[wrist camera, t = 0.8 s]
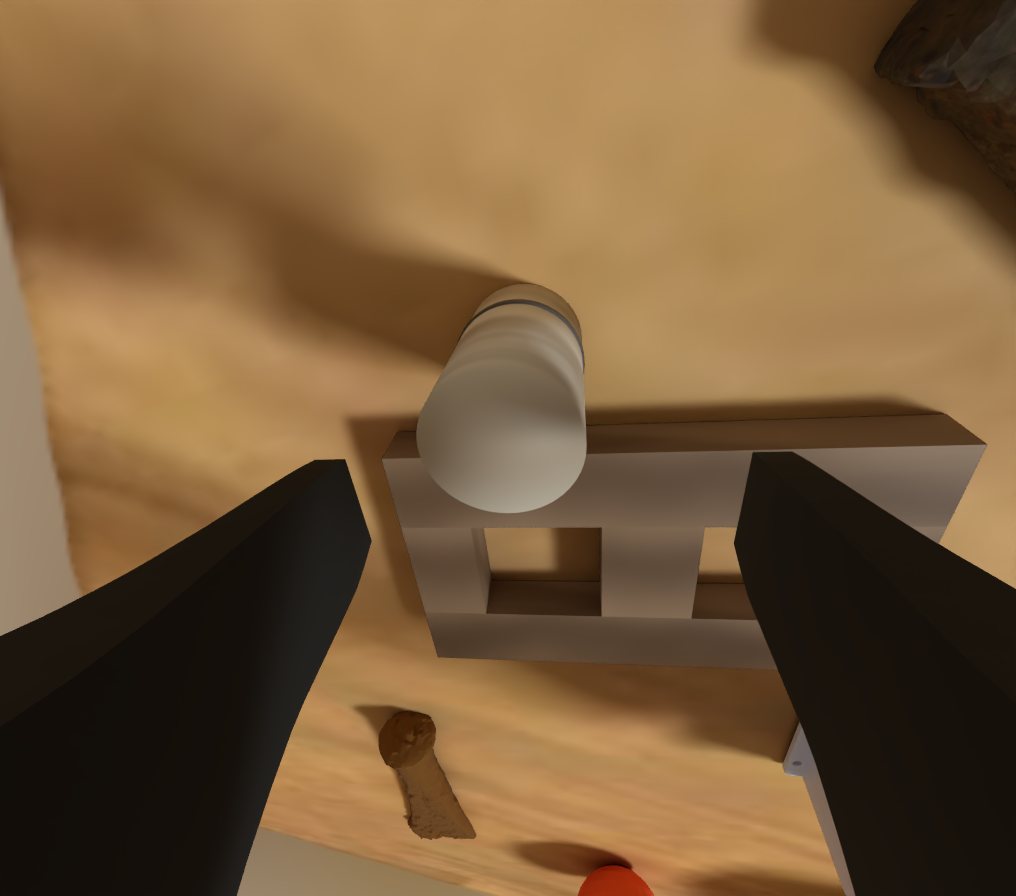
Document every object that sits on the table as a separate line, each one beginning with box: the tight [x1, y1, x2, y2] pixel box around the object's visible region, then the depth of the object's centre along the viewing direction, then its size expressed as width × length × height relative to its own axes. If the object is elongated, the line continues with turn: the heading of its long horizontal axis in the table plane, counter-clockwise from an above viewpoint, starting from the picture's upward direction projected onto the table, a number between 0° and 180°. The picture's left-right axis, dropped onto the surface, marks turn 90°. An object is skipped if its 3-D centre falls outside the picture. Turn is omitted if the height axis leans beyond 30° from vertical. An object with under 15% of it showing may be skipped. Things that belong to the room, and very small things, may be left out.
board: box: [382, 414, 987, 670], centre depth 21 cm, size 12×20×2 cm, turn 96°
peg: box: [416, 284, 587, 513], centre depth 14 cm, size 4×4×7 cm
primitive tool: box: [379, 712, 476, 840], centre depth 36 cm, size 19×6×4 cm, turn 5°
